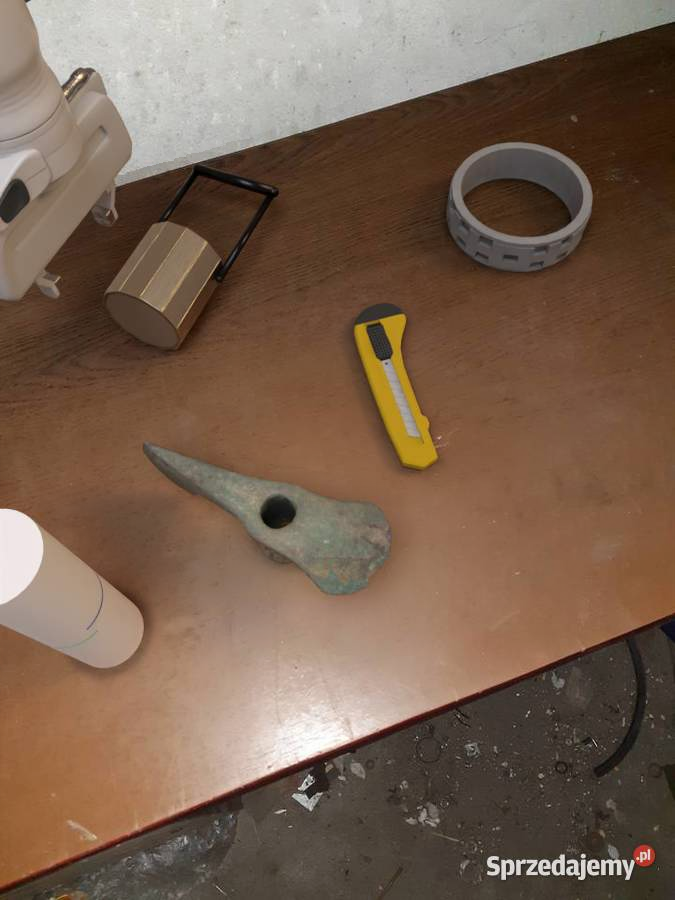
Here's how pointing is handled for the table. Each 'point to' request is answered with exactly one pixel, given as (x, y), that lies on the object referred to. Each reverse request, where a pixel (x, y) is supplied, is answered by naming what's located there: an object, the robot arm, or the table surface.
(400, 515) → the table surface
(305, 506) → the axe head
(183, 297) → the bucket
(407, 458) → the utility knife
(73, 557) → the cylindrical container
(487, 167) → the ring
